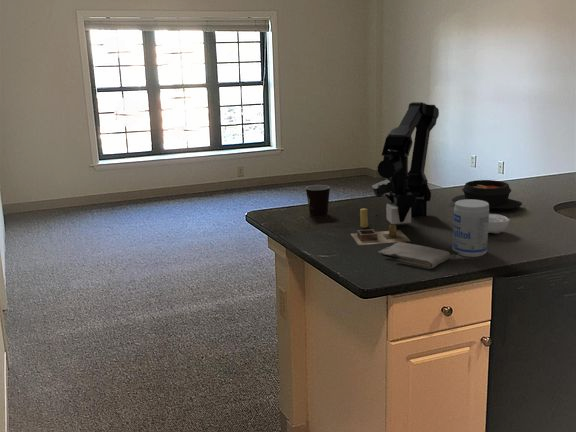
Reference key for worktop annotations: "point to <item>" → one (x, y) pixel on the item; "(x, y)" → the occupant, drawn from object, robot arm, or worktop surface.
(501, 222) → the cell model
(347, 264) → the worktop surface
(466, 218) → the supplement tub
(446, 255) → the washcloth
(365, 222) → the peg
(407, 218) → the grey rounded cube
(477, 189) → the casserole
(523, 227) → the worktop surface
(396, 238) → the board
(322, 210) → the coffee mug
